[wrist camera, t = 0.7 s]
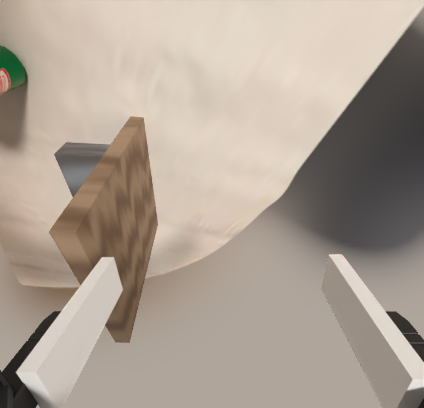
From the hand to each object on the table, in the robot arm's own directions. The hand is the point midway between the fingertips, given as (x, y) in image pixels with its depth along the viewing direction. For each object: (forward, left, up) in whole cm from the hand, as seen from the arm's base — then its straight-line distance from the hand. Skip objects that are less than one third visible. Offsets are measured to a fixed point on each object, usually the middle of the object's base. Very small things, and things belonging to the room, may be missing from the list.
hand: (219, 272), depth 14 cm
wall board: (+20, -10, -28) cm, 36 cm away
